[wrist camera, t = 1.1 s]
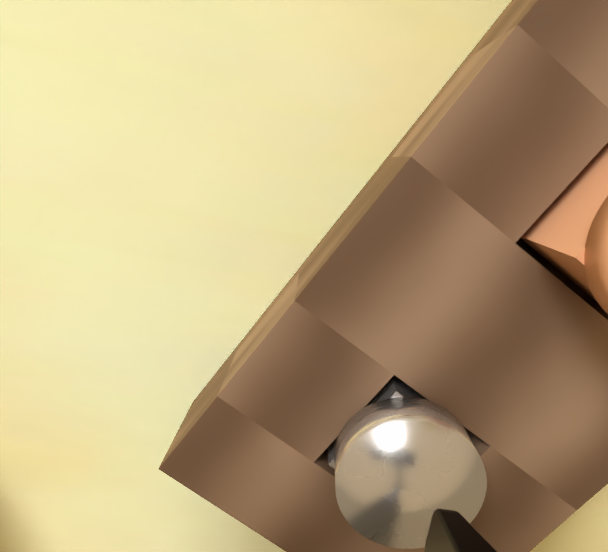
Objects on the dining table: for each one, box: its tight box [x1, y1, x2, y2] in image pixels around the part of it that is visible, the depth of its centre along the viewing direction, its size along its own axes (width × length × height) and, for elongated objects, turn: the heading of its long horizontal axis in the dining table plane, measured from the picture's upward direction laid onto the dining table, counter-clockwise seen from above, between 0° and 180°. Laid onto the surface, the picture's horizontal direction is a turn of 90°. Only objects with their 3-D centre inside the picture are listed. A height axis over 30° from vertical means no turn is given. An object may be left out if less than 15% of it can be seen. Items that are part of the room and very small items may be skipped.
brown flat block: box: [159, 0, 608, 552], centre depth 18 cm, size 14×24×5 cm, turn 142°
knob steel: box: [328, 375, 487, 549], centre depth 18 cm, size 5×5×5 cm
